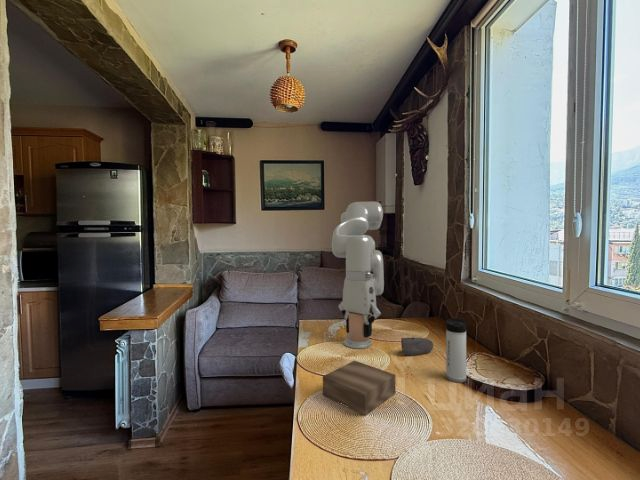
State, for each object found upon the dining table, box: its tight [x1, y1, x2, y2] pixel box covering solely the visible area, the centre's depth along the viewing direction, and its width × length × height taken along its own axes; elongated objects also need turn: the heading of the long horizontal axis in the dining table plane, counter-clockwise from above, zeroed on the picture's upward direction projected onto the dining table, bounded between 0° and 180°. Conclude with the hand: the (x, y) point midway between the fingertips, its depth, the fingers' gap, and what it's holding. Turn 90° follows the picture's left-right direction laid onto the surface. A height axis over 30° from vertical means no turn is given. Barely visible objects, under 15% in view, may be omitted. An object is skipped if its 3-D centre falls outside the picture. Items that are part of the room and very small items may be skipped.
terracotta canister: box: [349, 312, 370, 342], centre depth 96 cm, size 6×6×8 cm
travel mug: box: [445, 317, 467, 384], centre depth 106 cm, size 6×7×20 cm
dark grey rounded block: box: [400, 337, 434, 356], centre depth 128 cm, size 15×5×7 cm, turn 100°
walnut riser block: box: [322, 360, 397, 417], centre depth 97 cm, size 16×16×6 cm
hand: (358, 333), depth 96 cm, fingers closed on terracotta canister, 6 cm apart
